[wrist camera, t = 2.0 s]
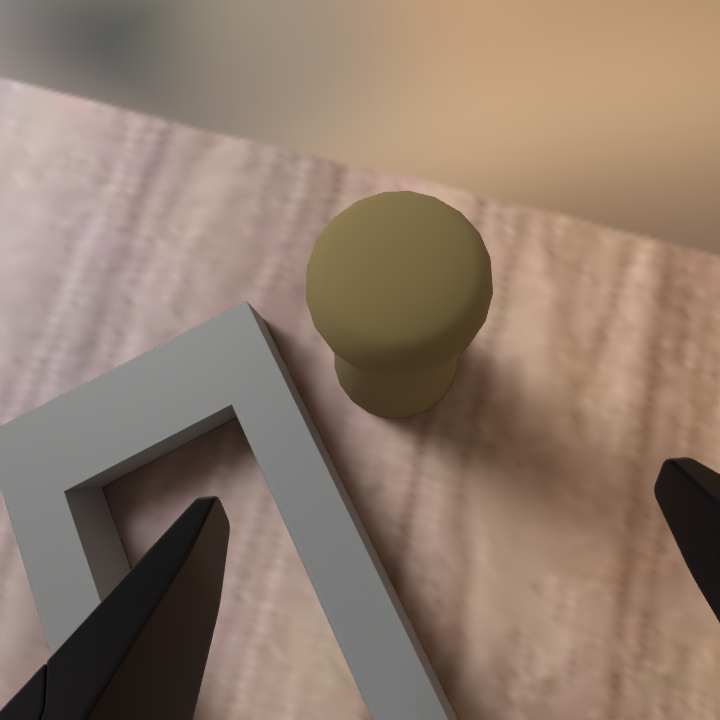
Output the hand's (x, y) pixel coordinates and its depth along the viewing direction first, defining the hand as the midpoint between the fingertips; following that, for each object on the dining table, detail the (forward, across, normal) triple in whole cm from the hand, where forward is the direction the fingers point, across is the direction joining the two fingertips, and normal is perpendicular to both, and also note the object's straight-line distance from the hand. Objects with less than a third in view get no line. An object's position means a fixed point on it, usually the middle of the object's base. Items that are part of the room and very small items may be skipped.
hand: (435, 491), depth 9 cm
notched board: (+6, +9, +11) cm, 15 cm away
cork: (+12, 0, +4) cm, 13 cm away
